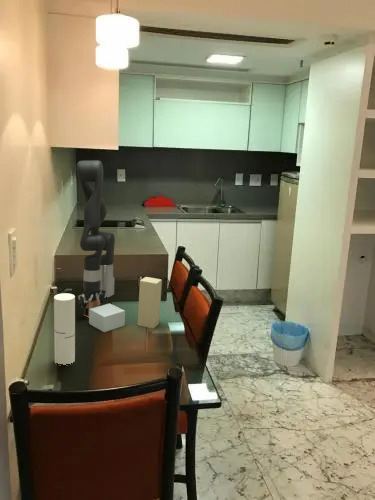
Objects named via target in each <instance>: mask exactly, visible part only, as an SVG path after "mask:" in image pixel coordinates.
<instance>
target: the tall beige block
mask: <svg viewBox="0 0 375 500" xmlns="http://www.w3.org/2000/svg"><path fill="white" fill-rule="evenodd" d="M162 284H163V280H162V279H160V278H155V277H150V276H149V277H148V276H145V277H143V278H142V279H140V281H139V292H138V307H137V308H138V309H137V310H138V312H137V325H138V326H140V327H143V328H144V327H145V328H148V329H155V328H156V327H157V326H158V325H159V324H160V315H161V298H162V286H163V285H162Z"/></svg>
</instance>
